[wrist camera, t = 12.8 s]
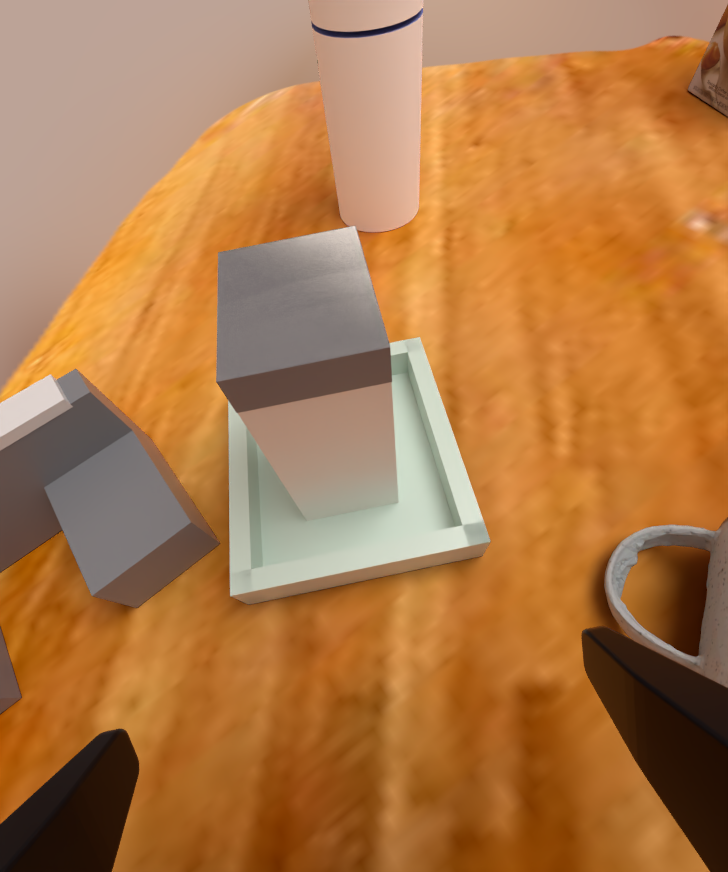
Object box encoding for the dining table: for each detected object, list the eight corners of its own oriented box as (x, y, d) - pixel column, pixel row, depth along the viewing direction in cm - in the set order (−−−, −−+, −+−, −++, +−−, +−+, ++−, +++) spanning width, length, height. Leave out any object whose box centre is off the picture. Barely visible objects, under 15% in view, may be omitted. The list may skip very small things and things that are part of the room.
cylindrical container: (358, 242, 35) (279, -457, 13) (328, 201, 38) (226, -401, 17) (433, 214, 36) (470, -477, 14) (396, 177, 39) (382, -421, 18)
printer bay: (220, 543, 22) (145, 489, 16) (-4, 716, 19) (-209, 735, 13) (151, 439, 26) (70, 363, 20) (-44, 568, 23) (-215, 525, 17)
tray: (482, 556, 21) (490, 541, 19) (248, 604, 21) (230, 596, 18) (418, 363, 28) (419, 337, 25) (242, 399, 27) (228, 375, 25)
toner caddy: (398, 502, 22) (390, 346, 12) (306, 521, 22) (216, 381, 12) (377, 411, 25) (355, 225, 15) (296, 427, 25) (218, 252, 15)
